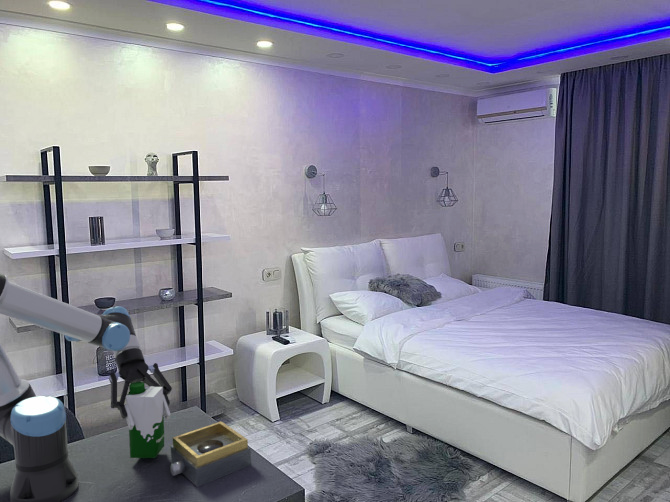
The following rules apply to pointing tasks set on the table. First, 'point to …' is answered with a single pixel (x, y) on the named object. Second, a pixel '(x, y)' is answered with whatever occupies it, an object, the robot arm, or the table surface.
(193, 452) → the wooden rimmed tray
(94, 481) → the table surface
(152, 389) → the soya milk
